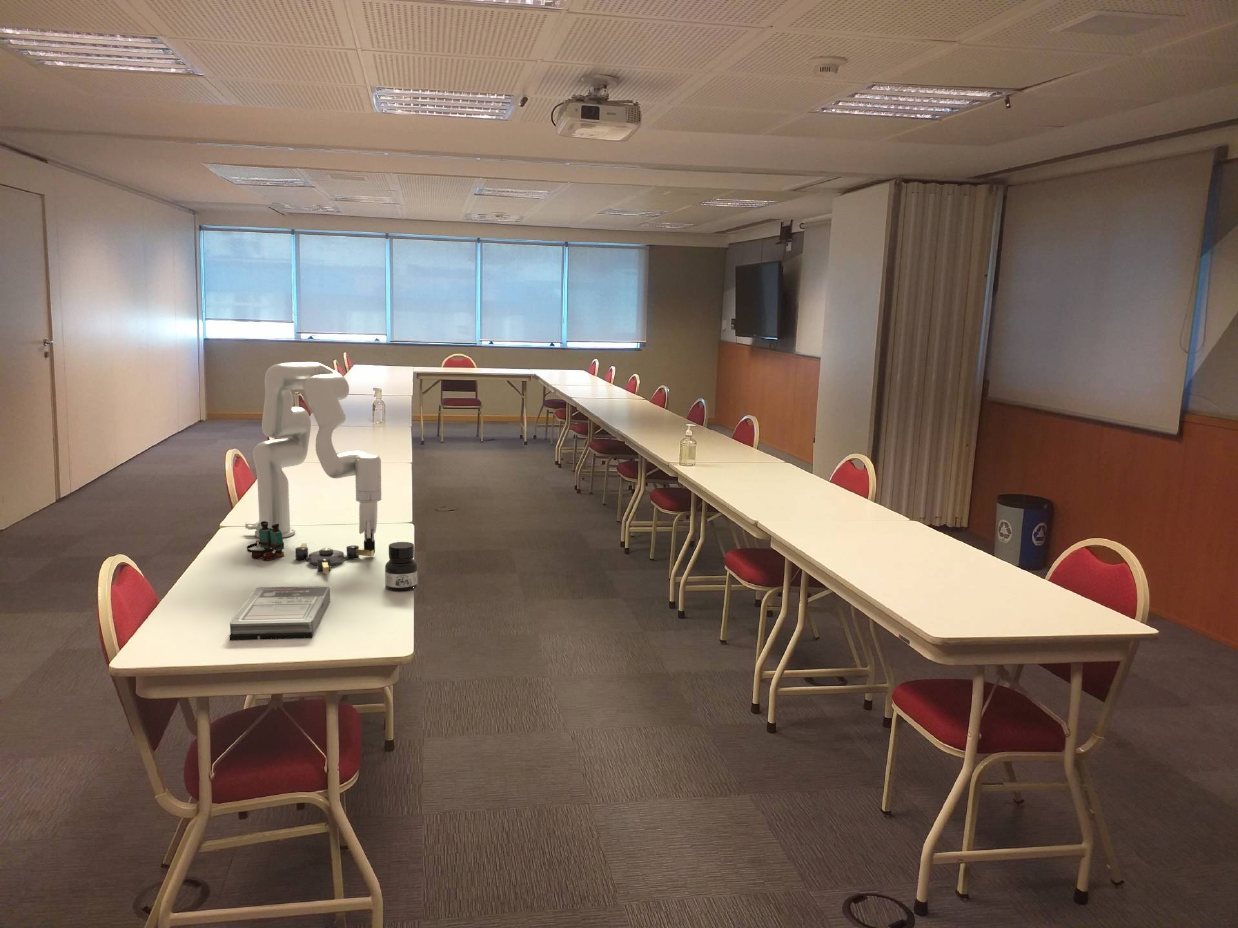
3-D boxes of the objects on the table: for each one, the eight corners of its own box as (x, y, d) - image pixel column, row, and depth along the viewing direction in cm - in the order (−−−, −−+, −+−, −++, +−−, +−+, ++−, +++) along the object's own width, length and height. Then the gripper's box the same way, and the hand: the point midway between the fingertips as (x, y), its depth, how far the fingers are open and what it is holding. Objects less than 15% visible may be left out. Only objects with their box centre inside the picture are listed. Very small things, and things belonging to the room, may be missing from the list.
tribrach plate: (303, 569, 262) (302, 555, 261) (307, 558, 272) (306, 545, 272) (346, 567, 264) (345, 554, 264) (348, 556, 275) (348, 543, 275)
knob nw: (307, 560, 270) (307, 549, 269) (295, 560, 269) (294, 550, 269) (310, 552, 278) (310, 542, 278) (298, 552, 278) (297, 542, 277)
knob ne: (344, 558, 274) (344, 547, 273) (351, 555, 277) (351, 544, 276) (369, 561, 271) (369, 550, 270) (376, 558, 274) (375, 547, 274)
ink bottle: (382, 592, 243) (382, 549, 241) (384, 582, 252) (384, 541, 250) (419, 591, 245) (419, 548, 243) (420, 581, 254) (419, 540, 251)
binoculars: (239, 528, 267) (264, 518, 275) (243, 561, 270) (269, 550, 278) (261, 532, 263) (286, 522, 272) (265, 566, 266) (290, 554, 275)
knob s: (317, 569, 262) (316, 558, 261) (330, 568, 263) (329, 557, 263) (319, 577, 254) (319, 566, 253) (333, 576, 255) (332, 565, 255)
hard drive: (229, 642, 207) (228, 623, 206) (257, 603, 233) (257, 587, 232) (312, 639, 209) (311, 621, 209) (331, 602, 236) (330, 585, 235)
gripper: (356, 490, 279) (357, 547, 282) (354, 500, 265) (355, 560, 268) (381, 489, 281) (382, 546, 284) (380, 500, 266) (381, 559, 270)
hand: (369, 553), depth 276 cm, fingers closed
